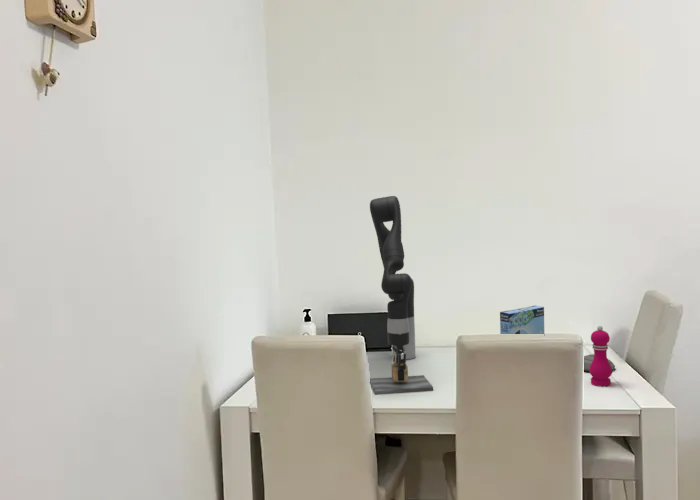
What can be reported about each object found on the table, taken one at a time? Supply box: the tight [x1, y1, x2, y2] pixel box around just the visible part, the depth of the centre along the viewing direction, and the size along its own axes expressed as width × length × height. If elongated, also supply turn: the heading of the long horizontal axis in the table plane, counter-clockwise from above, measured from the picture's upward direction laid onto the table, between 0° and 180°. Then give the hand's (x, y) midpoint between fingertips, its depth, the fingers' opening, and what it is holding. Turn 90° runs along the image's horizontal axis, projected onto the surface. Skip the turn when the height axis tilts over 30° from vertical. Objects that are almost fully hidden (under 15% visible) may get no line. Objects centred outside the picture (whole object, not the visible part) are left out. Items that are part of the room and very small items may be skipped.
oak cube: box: [390, 363, 409, 382], centre depth 230 cm, size 5×5×5 cm
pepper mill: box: [588, 325, 613, 387], centre depth 223 cm, size 7×7×20 cm
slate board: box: [369, 374, 434, 395], centre depth 230 cm, size 16×20×1 cm
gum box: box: [499, 305, 545, 335], centre depth 246 cm, size 19×5×23 cm, turn 123°
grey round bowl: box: [583, 353, 616, 372], centre depth 244 cm, size 15×15×6 cm
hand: (399, 378), depth 230 cm, fingers closed on oak cube, 5 cm apart
